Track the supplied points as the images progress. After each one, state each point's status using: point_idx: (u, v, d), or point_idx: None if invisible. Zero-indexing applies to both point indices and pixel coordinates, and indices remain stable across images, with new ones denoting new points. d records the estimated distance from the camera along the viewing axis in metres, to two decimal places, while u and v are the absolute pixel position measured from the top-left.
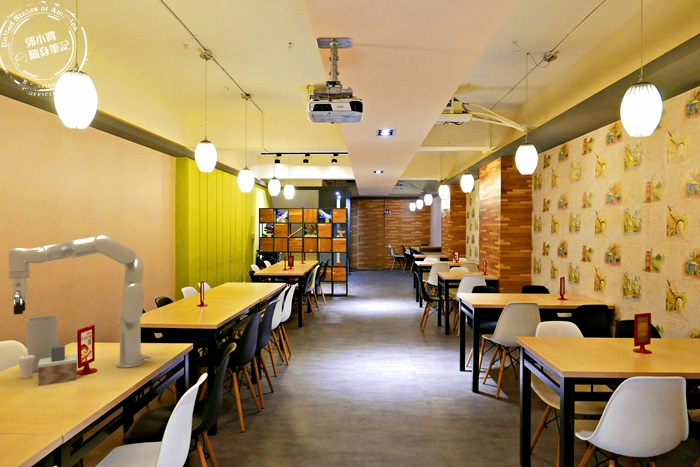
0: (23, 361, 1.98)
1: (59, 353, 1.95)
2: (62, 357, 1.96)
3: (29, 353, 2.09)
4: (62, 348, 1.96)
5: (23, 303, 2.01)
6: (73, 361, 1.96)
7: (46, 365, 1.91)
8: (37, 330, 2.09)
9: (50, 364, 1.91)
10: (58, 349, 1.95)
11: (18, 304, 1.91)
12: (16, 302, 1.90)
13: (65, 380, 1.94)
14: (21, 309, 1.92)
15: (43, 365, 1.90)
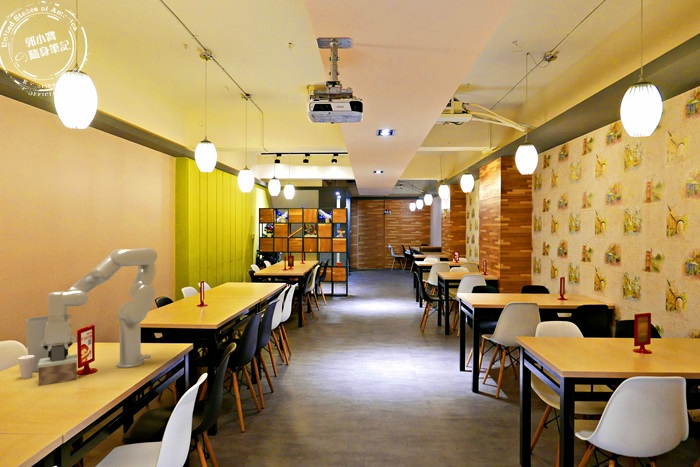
0: (23, 361, 1.98)
1: (59, 353, 1.95)
2: (62, 357, 1.96)
3: (29, 353, 2.09)
4: (62, 348, 1.96)
5: None
6: (73, 361, 1.96)
7: (46, 365, 1.91)
8: (37, 330, 2.09)
9: (50, 364, 1.91)
10: (58, 349, 1.95)
11: None
12: (71, 344, 2.00)
13: (65, 380, 1.94)
14: None
15: (43, 365, 1.90)
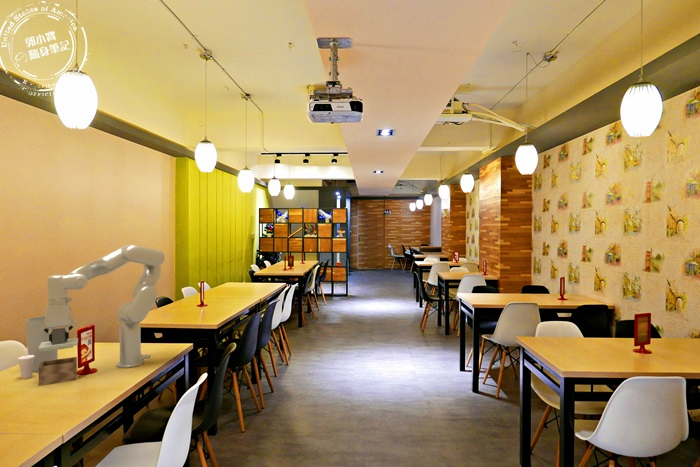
0: (23, 361, 1.98)
1: (60, 336, 1.95)
2: (63, 340, 1.96)
3: (29, 353, 2.09)
4: (63, 331, 1.96)
5: None
6: (74, 344, 1.96)
7: (47, 348, 1.91)
8: (37, 330, 2.09)
9: (51, 347, 1.92)
10: (59, 332, 1.95)
11: None
12: None
13: (65, 380, 1.94)
14: None
15: (44, 348, 1.90)
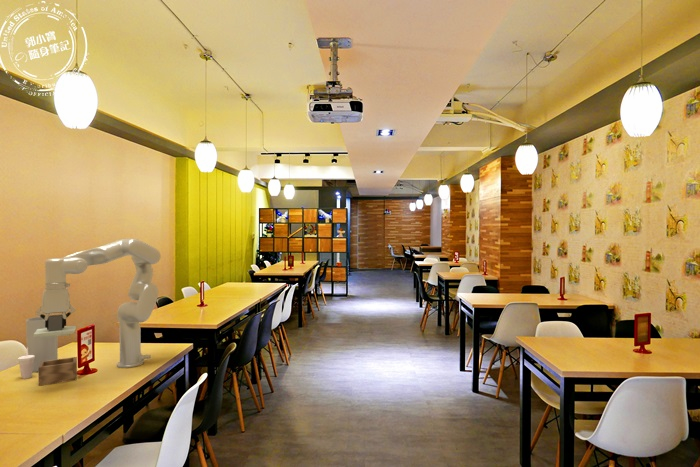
0: (23, 361, 1.98)
1: (56, 323, 1.86)
2: (60, 327, 1.86)
3: (29, 353, 2.09)
4: (60, 317, 1.86)
5: None
6: (71, 331, 1.86)
7: (42, 334, 1.81)
8: None
9: (47, 333, 1.82)
10: (55, 318, 1.86)
11: None
12: (69, 314, 1.90)
13: (65, 380, 1.94)
14: None
15: (39, 334, 1.81)
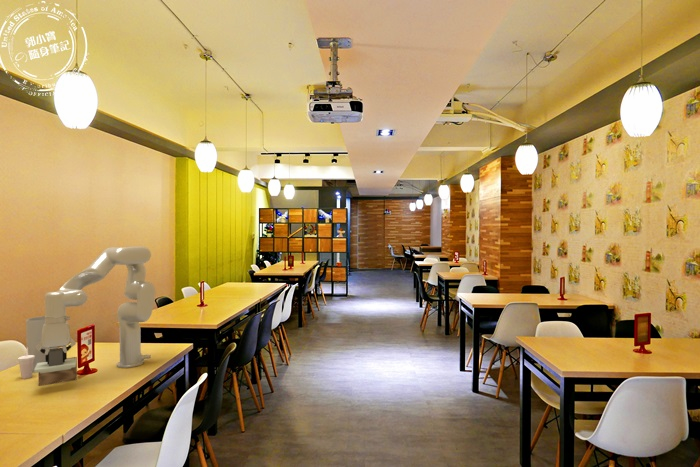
0: (23, 361, 1.98)
1: (57, 357, 1.84)
2: (60, 361, 1.84)
3: (29, 353, 2.09)
4: (60, 352, 1.84)
5: None
6: (72, 365, 1.84)
7: (43, 370, 1.79)
8: (37, 330, 2.09)
9: (47, 369, 1.80)
10: (56, 353, 1.84)
11: None
12: None
13: (65, 380, 1.94)
14: None
15: (40, 370, 1.78)
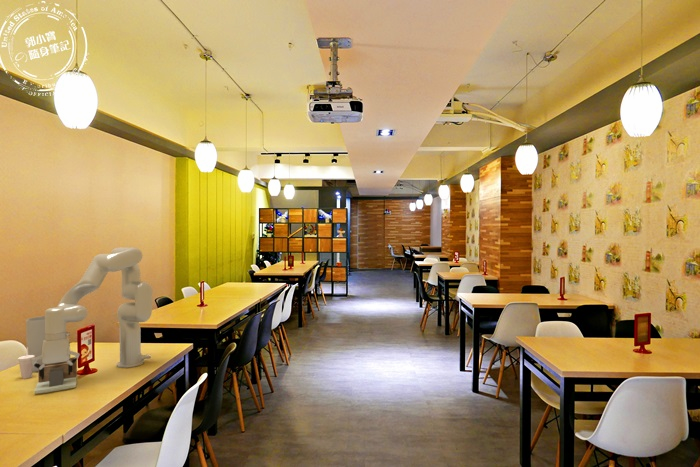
0: (23, 361, 1.98)
1: (57, 377, 1.84)
2: (60, 381, 1.84)
3: (29, 353, 2.09)
4: (61, 372, 1.84)
5: (43, 369, 1.84)
6: (72, 386, 1.84)
7: (43, 391, 1.79)
8: (37, 330, 2.09)
9: (48, 389, 1.80)
10: (56, 373, 1.84)
11: None
12: (76, 360, 1.89)
13: None
14: None
15: (40, 391, 1.78)
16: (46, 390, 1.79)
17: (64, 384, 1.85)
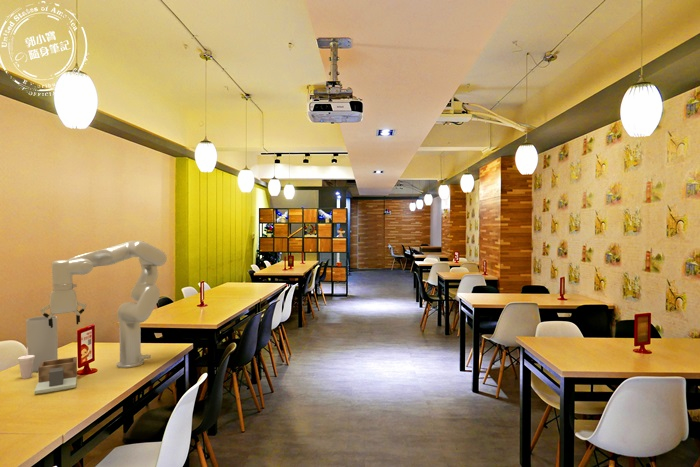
0: (23, 361, 1.98)
1: (57, 377, 1.84)
2: (60, 381, 1.84)
3: (29, 353, 2.09)
4: (60, 372, 1.84)
5: (52, 319, 1.91)
6: (72, 386, 1.84)
7: (43, 391, 1.79)
8: (37, 330, 2.09)
9: (48, 389, 1.80)
10: (56, 373, 1.84)
11: (80, 313, 1.97)
12: None
13: None
14: None
15: (40, 391, 1.78)
16: (46, 390, 1.79)
17: (64, 384, 1.85)
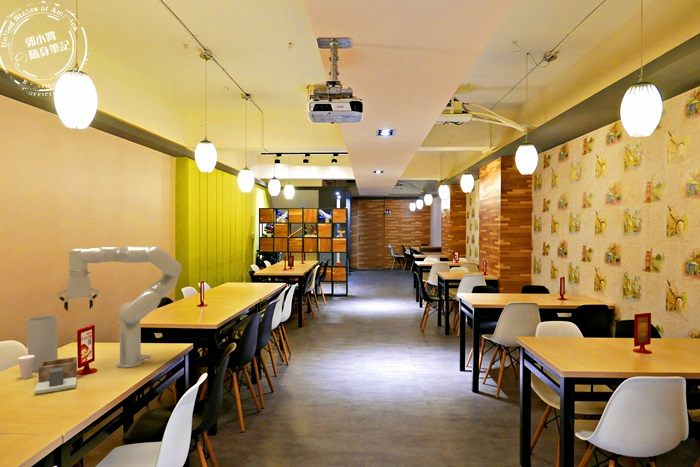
0: (23, 361, 1.98)
1: (57, 377, 1.84)
2: (60, 381, 1.84)
3: (29, 353, 2.09)
4: (60, 372, 1.84)
5: None
6: (72, 386, 1.84)
7: (43, 391, 1.79)
8: (37, 330, 2.09)
9: (48, 389, 1.80)
10: (56, 373, 1.84)
11: (94, 298, 2.12)
12: (96, 296, 2.12)
13: None
14: None
15: (40, 391, 1.78)
16: (46, 390, 1.79)
17: (64, 384, 1.85)
